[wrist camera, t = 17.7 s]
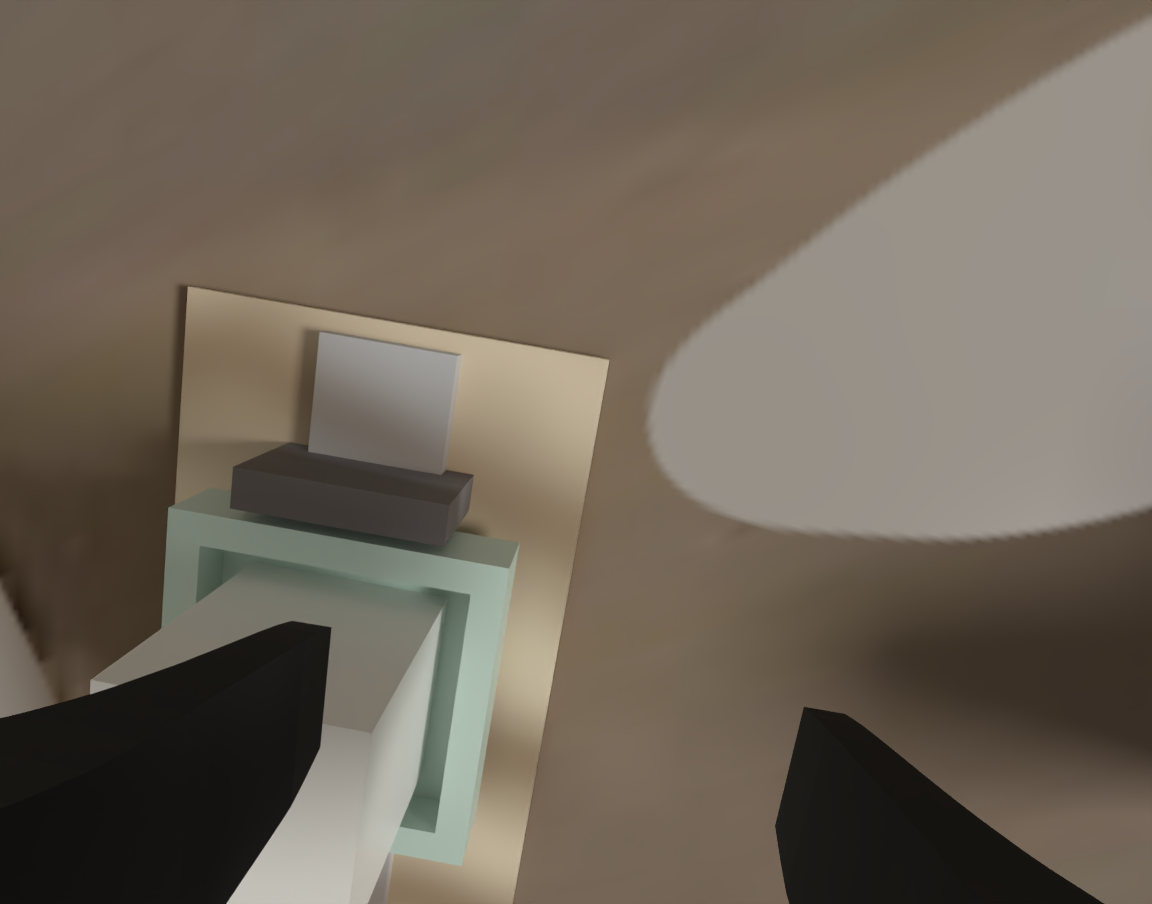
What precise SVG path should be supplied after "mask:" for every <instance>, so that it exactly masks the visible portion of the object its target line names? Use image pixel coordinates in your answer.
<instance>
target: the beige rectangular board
mask: <svg viewBox="0 0 1152 904" xmlns="http://www.w3.org/2000/svg"><path fill="white" fill-rule="evenodd" d="M608 365H609V359H607V358H602V357H596V356H590V355H584V354H579V353H573V352H567V351H562V350H556V349H550V348H544V347H539V346H533V345H527V344H521V343H516V342H510V341H504V340H498V339H493V338H487V337H481V336H476V335H470V334H464V333H458V332H453V331H447V330H441V329H435V328H430V327H424V326H418V325H413V324H407V323H401V322H395V321H390V320H384V319H378V318H372V317H367V316H361V315H355V314H349V313H344V312H338V311H332V310H327V309H321V308H315V307H309V306H304V305H298V304H292V303H286V302H281V301H275V300H269V299H263V298H258V297H252V296H246V295H241V294H235V293H229V292H223V291H218V290H212V289H206V288H200V287H188V293H187V309H186V326H185V343H184V359H183V376H182V393H181V410H180V426H179V443H178V460H177V476H176V493H175V504H177V503H179V502H181V501H184V500H186V499H188V498H190V497H192V496H194V495H197V494H199V493H201V492H203V491H205V490H207V489H209V488H217V489H222V490H228V491H231V500H230V509H235V510H241V511H246V512H252V513H257V514H263V515H269V516H274V517H280V518H285V519H291V520H297V521H302V522H308V523H313V524H319V525H324V526H330V527H336V528H341V529H347V530H352V531H358V532H363V533H369V534H375V535H380V536H386V537H391V538H397V539H402V540H408V541H414V542H419V543H425V544H430V545H436V546H441V547H444V546H445V544H446V543H447V541H448V540H449V538H450V537H451V535H452V534H453V533H454V531H457V532H463V533H468V534H474V535H479V536H485V537H491V538H496V539H502V540H507V541H513V542H519V543H520V544H519V550H518V556H517V562H516V569H515V575H514V581H513V587H512V593H511V600H510V606H509V612H508V618H507V624H506V631H505V637H504V643H503V649H502V655H501V662H500V668H499V674H498V680H497V686H496V693H495V699H494V705H493V711H492V717H491V724H490V730H489V736H488V742H487V748H486V755H485V761H484V767H483V773H482V779H481V786H480V792H479V798H478V804H477V810H476V816H475V820H474V824H473V827H472V831H471V835H470V838H469V842H468V846H467V849H466V853H465V857H464V860H463V864H462V866H458V865H453V864H448V863H442V862H437V861H431V860H426V859H421V858H415V857H410V856H405V855H399V854H394V853H388V856H387V858H386V860H385V863H384V865H383V868H382V870H381V873H380V875H379V878H378V880H377V882H376V885H375V887H374V890H373V892H372V895H371V897H370V899H369V902H368V904H513V899H514V893H515V887H516V882H517V876H518V871H519V865H520V859H521V854H522V848H523V842H524V837H525V831H526V826H527V820H528V814H529V809H530V803H531V797H532V792H533V786H534V781H535V775H536V769H537V764H538V758H539V753H540V747H541V741H542V736H543V730H544V724H545V719H546V713H547V708H548V702H549V696H550V691H551V685H552V679H553V674H554V668H555V663H556V657H557V651H558V646H559V640H560V635H561V629H562V623H563V618H564V612H565V606H566V601H567V595H568V590H569V584H570V578H571V573H572V567H573V561H574V556H575V550H576V545H577V539H578V533H579V528H580V522H581V517H582V511H583V505H584V500H585V494H586V488H587V483H588V477H589V472H590V466H591V460H592V455H593V449H594V443H595V438H596V432H597V427H598V421H599V415H600V410H601V404H602V399H603V393H604V387H605V382H606V376H607V370H608Z"/></svg>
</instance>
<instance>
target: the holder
mask: <svg viewBox="0 0 1152 904" xmlns="http://www.w3.org/2000/svg"><path fill="white" fill-rule="evenodd" d="M230 500H231V491H228V490H222V489H217V488H209V489H207V490H205V491H203V492H201V493H199V494H197V495H194V496H192V497H190V498H188V499H186V500H184V501H181V502H179V503H177V504H175V505H173V506H171V507H168V522H167V539H166V557H165V574H164V591H163V608H162V626H161V629H162V628H163V627H164V626H166V625H167V624H168V623H170V622H171V621H173V620H174V619H175V618H177V617H178V616H180V615H181V614H182V613H184V612H185V611H186V610H188V609H189V608H191V607H192V606H193V605H195V604H196V603H198V602H199V601H200V600H202V599H203V598H205V597H206V596H207V595H209V594H210V593H211V592H213V591H214V590H216V589H217V588H218V587H220V586H221V585H223V584H224V583H225V582H227V581H228V580H229V579H231V578H232V577H234V576H235V575H236V574H238V573H239V572H241V571H242V570H243V569H245V568H246V567H247V566H249V565H250V564H252V563H253V562H259V563H264V564H269V565H275V566H280V567H286V568H291V569H296V570H302V571H307V572H312V573H318V574H323V575H328V576H334V577H339V578H344V579H350V580H355V581H360V582H366V583H371V584H377V585H382V586H387V587H393V588H398V589H403V590H409V591H414V592H419V593H425V594H430V595H435V596H441V597H446V598H448V601H447V608H446V615H445V621H444V628H443V635H442V641H441V648H440V655H439V661H438V668H437V675H436V681H435V688H434V695H433V701H432V708H431V715H430V721H429V728H428V735H427V742H426V748H425V755H424V762H423V768H422V773H421V775H420V778H419V780H418V783H417V785H416V787H415V790H414V792H413V795H412V797H411V800H410V802H409V804H408V807H407V809H406V812H405V814H404V817H403V819H402V821H401V824H400V826H399V829H398V831H397V834H396V836H395V839H394V841H393V843H392V846H391V848H390V851H389V853H394V854H399V855H405V856H410V857H415V858H421V859H426V860H431V861H437V862H442V863H448V864H453V865H458V866H462V864H463V860H464V857H465V853H466V849H467V846H468V842H469V838H470V835H471V831H472V827H473V824H474V820H475V816H476V810H477V804H478V798H479V792H480V786H481V779H482V773H483V767H484V761H485V755H486V748H487V742H488V736H489V730H490V724H491V717H492V711H493V705H494V699H495V693H496V686H497V680H498V674H499V668H500V662H501V655H502V649H503V643H504V637H505V631H506V624H507V618H508V612H509V606H510V600H511V593H512V587H513V581H514V575H515V569H516V562H517V556H518V550H519V544H520V543H519V542H513V541H507V540H502V539H496V538H491V537H485V536H479V535H474V534H468V533H463V532H457V531H454V533H453V534H452V535H451V537H450V538H449V540H448V541H447V543H446V544H445V546H444V547H441V546H436V545H430V544H425V543H419V542H414V541H408V540H402V539H397V538H391V537H386V536H380V535H375V534H369V533H363V532H358V531H352V530H347V529H341V528H336V527H330V526H324V525H319V524H313V523H308V522H302V521H297V520H291V519H285V518H280V517H274V516H269V515H263V514H257V513H252V512H246V511H241V510H235V509H230Z"/></svg>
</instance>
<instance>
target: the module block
mask: <svg viewBox="0 0 1152 904" xmlns="http://www.w3.org/2000/svg"><path fill="white" fill-rule="evenodd" d="M447 601H448V598H446V597H441V596H435V595H430V594H425V593H419V592H414V591H409V590H403V589H398V588H393V587H387V586H382V585H377V584H371V583H366V582H360V581H355V580H350V579H344V578H339V577H334V576H328V575H323V574H318V573H312V572H307V571H302V570H296V569H291V568H286V567H280V566H275V565H269V564H264V563H259V562H253V563H252V564H250V565H249V566H247V567H246V568H245V569H243V570H242V571H241V572H239V573H238V574H236V575H235V576H234V577H232V578H231V579H229V580H228V581H227V582H225V583H224V584H223V585H221V586H220V587H218V588H217V589H216V590H214V591H213V592H211V593H210V594H209V595H207V596H206V597H205V598H203V599H202V600H200V601H199V602H198V603H196V604H195V605H193V606H192V607H191V608H189V609H188V610H186V611H185V612H184V613H182V614H181V615H180V616H178V617H177V618H175V619H174V620H173V621H171V622H170V623H168V624H167V625H166V626H164V627H163V628H162V629H160V630H159V631H157V632H156V633H155V634H153V635H152V636H150V637H149V638H148V639H146V640H145V641H144V642H142V643H141V644H139V645H138V646H137V647H135V648H134V649H132V650H131V651H130V652H128V653H127V654H126V655H124V656H123V657H121V658H120V659H119V660H117V661H116V662H114V663H113V664H112V665H110V666H109V667H108V668H106V669H105V670H103V671H102V672H101V673H99V674H98V675H96V676H95V677H94V678H92V679H91V681H90V694H93V693H96V692H99V691H102V690H105V689H109V688H112V687H114V686H117V685H120V684H123V683H126V682H128V681H131V680H134V679H137V678H140V677H143V676H145V675H148V674H151V673H154V672H157V671H159V670H162V669H165V668H168V667H171V666H173V665H176V664H179V663H182V662H184V661H187V660H189V659H192V658H194V657H197V656H199V655H202V654H204V653H207V652H209V651H212V650H214V649H217V648H219V647H222V646H224V645H227V644H229V643H232V642H234V641H237V640H239V639H242V638H244V637H247V636H249V635H252V634H254V633H257V632H260V631H262V630H265V629H268V628H270V627H273V626H276V625H279V624H282V623H286V622H289V621H297V622H303V623H309V624H315V625H321V626H327V627H332V628H331V639H330V649H329V660H328V671H327V681H326V692H325V702H324V713H323V724H322V734H321V745H320V749H319V751H318V753H317V755H316V758H315V760H314V762H313V764H312V766H311V768H310V770H309V772H308V774H307V776H306V778H305V780H304V782H303V784H302V786H301V788H300V790H299V792H298V794H297V796H296V798H295V800H294V802H293V804H292V806H291V808H290V809H289V811H288V812H287V814H286V815H285V817H284V818H283V820H282V821H281V823H280V824H279V826H278V827H277V829H276V831H275V832H274V834H273V835H272V837H271V838H270V840H269V841H268V843H267V844H266V846H265V847H264V849H263V850H262V852H261V853H260V855H259V856H258V858H257V859H256V861H255V862H254V864H253V865H252V866H251V868H250V869H249V871H248V872H247V874H246V875H245V877H244V878H243V880H242V881H241V883H240V884H239V886H238V887H237V889H236V890H235V892H234V893H233V895H232V896H231V898H230V899H229V901H228V902H227V904H368V902H369V899H370V897H371V895H372V892H373V890H374V887H375V885H376V882H377V880H378V878H379V875H380V873H381V870H382V868H383V865H384V863H385V860H386V858H387V856H388V853H389V851H390V848H391V846H392V843H393V841H394V839H395V836H396V834H397V831H398V829H399V826H400V824H401V821H402V819H403V817H404V814H405V812H406V809H407V807H408V804H409V802H410V800H411V797H412V795H413V792H414V790H415V787H416V785H417V783H418V780H419V778H420V775H421V773H422V768H423V762H424V755H425V748H426V742H427V735H428V728H429V721H430V715H431V708H432V701H433V695H434V688H435V681H436V675H437V668H438V661H439V655H440V648H441V641H442V635H443V628H444V621H445V615H446V608H447Z"/></svg>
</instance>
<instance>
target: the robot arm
mask: <svg viewBox="0 0 1152 904" xmlns="http://www.w3.org/2000/svg"><path fill="white" fill-rule="evenodd" d="M331 628H332V627H327V626H321V625H315V624H309V623H303V622H297V621H289V622H286V623H282V624H279V625H276V626H273V627H270V628H268V629H265V630H262V631H260V632H257V633H254V634H252V635H249V636H247V637H244V638H242V639H239V640H237V641H234V642H232V643H229V644H227V645H224V646H222V647H219V648H217V649H214V650H212V651H209V652H207V653H204V654H202V655H199V656H197V657H194V658H192V659H189V660H187V661H184V662H182V663H179V664H176V665H173V666H171V667H168V668H165V669H162V670H159V671H157V672H154V673H151V674H148V675H145V676H143V677H140V678H137V679H134V680H131V681H128V682H126V683H123V684H120V685H117V686H114V687H112V688H109V689H105V690H102V691H99V692H96V693H93V694H89V695H86V696H83V697H79V698H76V699H73V700H69V701H66V702H62V703H58V704H55V705H51V706H47V707H43V708H40V709H36V710H33V711H28V712H25V713H21V714H16V715H12V716H9V717H4V718H0V904H227V902H228V901H229V899H230V898H231V896H232V895H233V893H234V892H235V890H236V889H237V887H238V886H239V884H240V883H241V881H242V880H243V878H244V877H245V875H246V874H247V872H248V871H249V869H250V868H251V866H252V865H253V864H254V862H255V861H256V859H257V858H258V856H259V855H260V853H261V852H262V850H263V849H264V847H265V846H266V844H267V843H268V841H269V840H270V838H271V837H272V835H273V834H274V832H275V831H276V829H277V827H278V826H279V824H280V823H281V821H282V820H283V818H284V817H285V815H286V814H287V812H288V811H289V809H290V808H291V806H292V804H293V802H294V800H295V798H296V796H297V794H298V792H299V790H300V788H301V786H302V784H303V782H304V780H305V778H306V776H307V774H308V772H309V770H310V768H311V766H312V764H313V762H314V760H315V758H316V755H317V753H318V751H319V749H320V745H321V734H322V724H323V713H324V702H325V692H326V681H327V671H328V660H329V649H330V639H331ZM775 828H776V834H777V841H778V847H779V854H780V860H781V866H782V872H783V877H784V883H785V888H786V893H787V897H788V900H789V904H1104V903H1102V902H1101V901H1099V900H1097V899H1096V898H1094V897H1093V896H1091V895H1090V894H1088V893H1086V892H1085V891H1083V890H1082V889H1080V888H1079V887H1077V886H1076V885H1074V884H1072V883H1071V882H1069V881H1068V880H1066V879H1065V878H1063V877H1062V876H1060V875H1058V874H1057V873H1055V872H1054V871H1052V870H1051V869H1049V868H1048V867H1046V866H1045V865H1043V864H1042V863H1040V862H1039V861H1037V860H1036V859H1034V858H1033V857H1031V856H1030V855H1029V854H1027V853H1026V852H1024V851H1023V850H1021V849H1020V848H1019V847H1017V846H1016V845H1015V844H1013V843H1012V842H1010V841H1009V840H1008V839H1006V838H1005V837H1004V836H1002V835H1001V834H1000V833H998V832H997V831H995V830H994V829H993V828H991V827H990V826H989V825H987V824H986V823H984V822H983V821H982V820H980V819H979V818H978V817H976V816H975V815H974V814H973V813H971V812H970V811H969V810H967V809H966V808H965V807H963V806H962V805H961V804H960V803H958V802H957V801H956V800H954V799H953V798H952V797H951V796H949V795H948V794H947V793H946V792H944V791H943V790H942V789H941V788H939V787H938V786H937V785H936V784H934V783H933V782H932V781H931V780H929V779H928V778H927V777H926V776H924V775H923V774H922V773H921V772H919V771H918V770H917V769H916V768H915V767H913V766H912V765H911V764H910V763H908V762H907V761H906V760H905V759H904V758H902V757H901V756H900V755H899V754H897V753H896V752H895V751H894V750H892V749H891V748H890V747H889V746H888V745H886V744H885V743H884V742H883V741H881V740H880V739H879V738H878V737H876V736H875V735H874V734H872V733H871V732H870V731H869V730H867V729H866V728H865V727H863V726H862V725H861V724H859V723H858V722H856V721H855V720H854V719H852V718H850V717H849V716H847V715H846V714H842V713H836V712H830V711H825V710H819V709H813V708H807V707H804V709H803V713H802V717H801V721H800V726H799V730H798V734H797V738H796V742H795V746H794V750H793V754H792V759H791V763H790V767H789V771H788V775H787V779H786V783H785V788H784V792H783V796H782V800H781V804H780V808H779V812H778V817H777V821H776V825H775Z"/></svg>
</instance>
